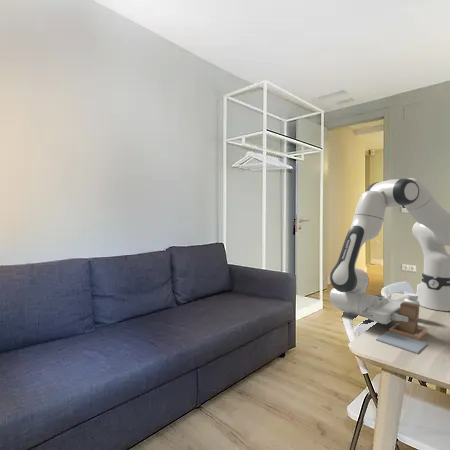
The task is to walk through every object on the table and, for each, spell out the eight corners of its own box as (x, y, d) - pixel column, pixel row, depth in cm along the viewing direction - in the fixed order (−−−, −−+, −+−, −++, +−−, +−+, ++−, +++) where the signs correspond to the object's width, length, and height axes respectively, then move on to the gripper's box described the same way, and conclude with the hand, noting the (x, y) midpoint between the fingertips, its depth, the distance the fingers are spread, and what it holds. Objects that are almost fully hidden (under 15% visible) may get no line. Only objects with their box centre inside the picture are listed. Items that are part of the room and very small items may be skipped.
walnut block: (403, 328, 112) (404, 301, 111) (417, 332, 109) (419, 304, 108) (398, 331, 109) (400, 303, 108) (412, 335, 106) (414, 307, 105)
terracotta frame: (398, 325, 115) (398, 322, 115) (426, 333, 109) (426, 330, 108) (389, 331, 109) (389, 328, 109) (418, 340, 102) (418, 337, 102)
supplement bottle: (420, 322, 119) (422, 297, 119) (405, 320, 120) (407, 295, 120) (415, 317, 125) (416, 293, 124) (400, 315, 126) (402, 292, 125)
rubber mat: (387, 332, 108) (387, 331, 108) (427, 344, 99) (427, 343, 99) (375, 340, 101) (376, 339, 101) (417, 354, 93) (417, 352, 93)
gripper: (359, 304, 111) (401, 315, 101) (382, 294, 125) (421, 302, 114) (358, 321, 111) (400, 334, 101) (381, 309, 125) (420, 319, 115)
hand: (411, 317), depth 108 cm, fingers closed on walnut block, 4 cm apart
